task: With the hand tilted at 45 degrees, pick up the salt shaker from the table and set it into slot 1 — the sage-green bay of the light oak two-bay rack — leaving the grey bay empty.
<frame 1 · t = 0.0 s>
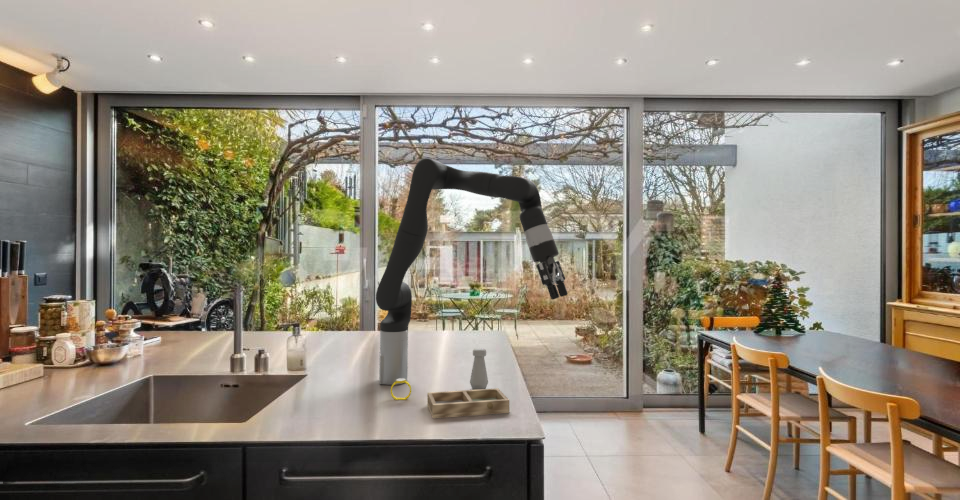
hand: (560, 297, 132), 31 cm above the counter, tool tilted 20°, fingers open, 8 cm apart
rack: (467, 408, 131), on the counter
salt shaker: (479, 389, 149), on the counter
watch: (400, 400, 139), on the counter
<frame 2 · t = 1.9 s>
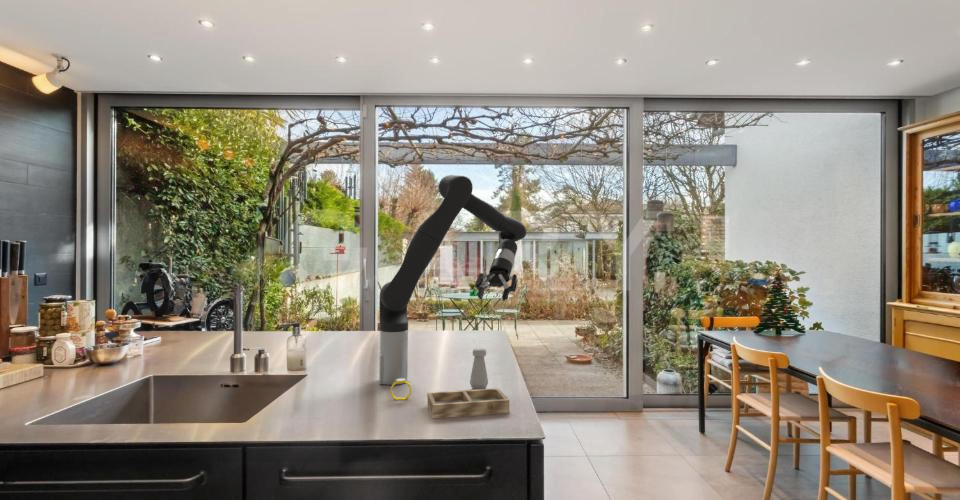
hand: (491, 298, 159), 28 cm above the counter, tool tilted 45°, fingers open, 8 cm apart
nothing on the counter moved.
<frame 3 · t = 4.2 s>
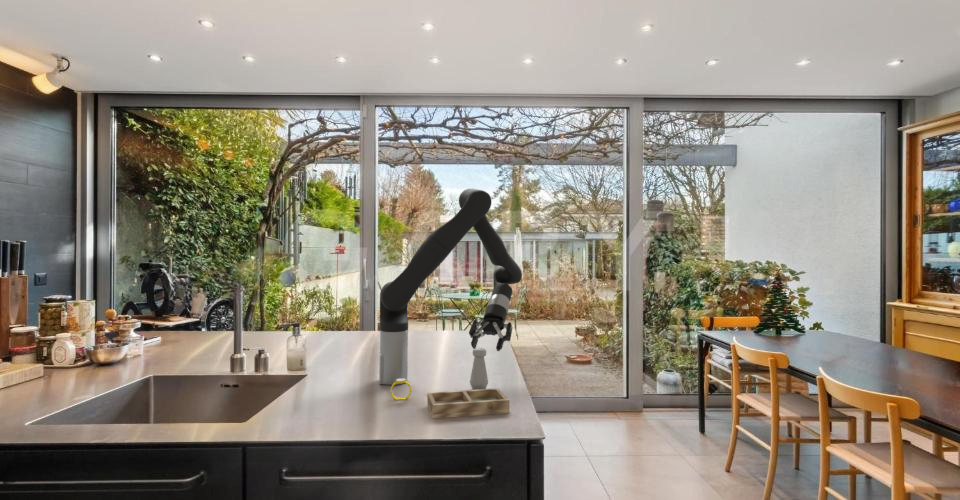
hand: (485, 348, 154), 12 cm above the counter, tool tilted 45°, fingers open, 8 cm apart
nothing on the counter moved.
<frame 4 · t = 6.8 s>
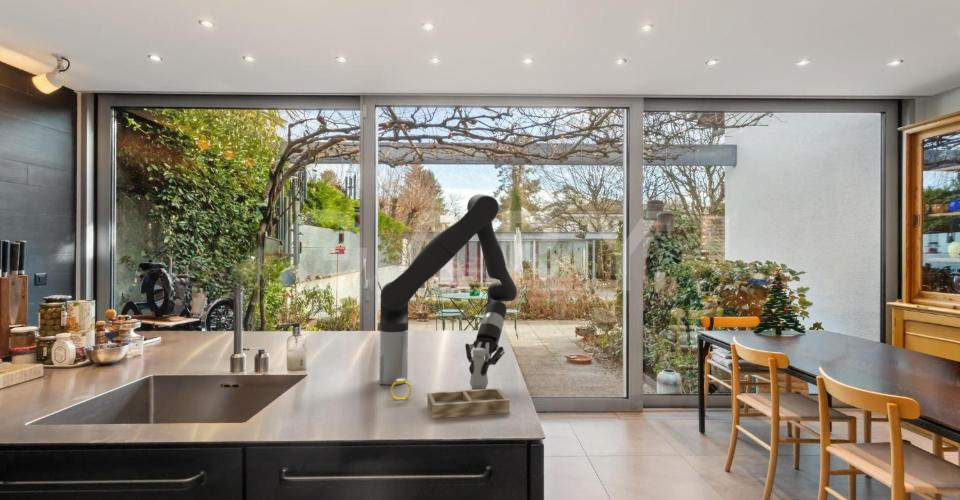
hand: (477, 373, 147), 5 cm above the counter, tool tilted 45°, fingers closed on salt shaker, 3 cm apart
salt shaker: (479, 389, 149), on the counter, touching gripper
everything else where it was.
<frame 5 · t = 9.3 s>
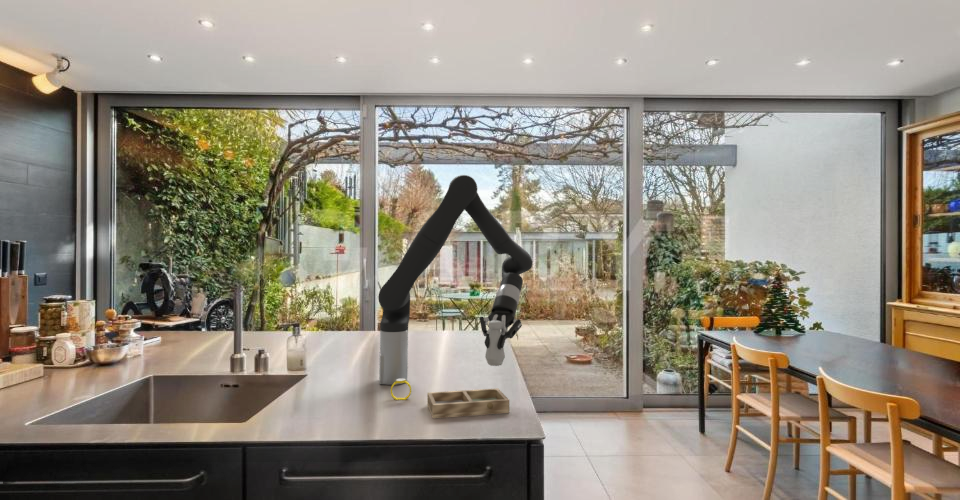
hand: (493, 347, 138), 16 cm above the counter, tool tilted 45°, fingers closed on salt shaker, 3 cm apart
salt shaker: (495, 364, 140), point 10 cm above the counter, touching gripper
everything else where it was.
when the fingers open (8 cm above the counter, at t = 12.1 s): salt shaker stays where it is, resting on rack.
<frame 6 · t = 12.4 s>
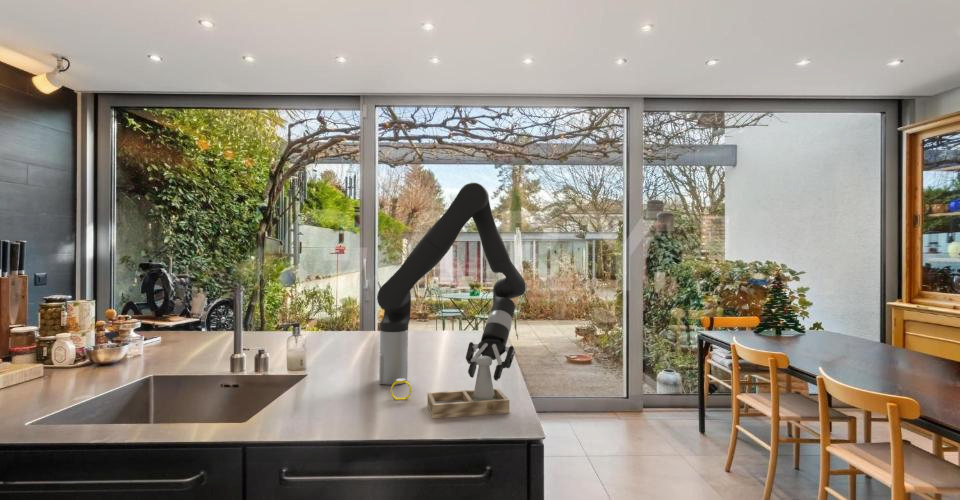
hand: (483, 377, 131), 9 cm above the counter, tool tilted 45°, fingers open, 6 cm apart
salt shaker: (483, 403, 133), point 1 cm above the counter, touching rack
everything else where it was.
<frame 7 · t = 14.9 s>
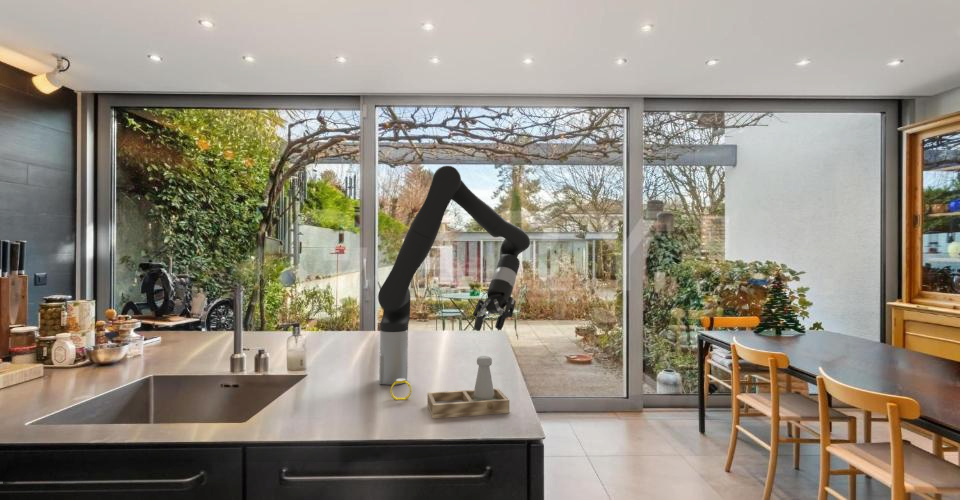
hand: (487, 329, 143), 20 cm above the counter, tool tilted 35°, fingers open, 8 cm apart
nothing on the counter moved.
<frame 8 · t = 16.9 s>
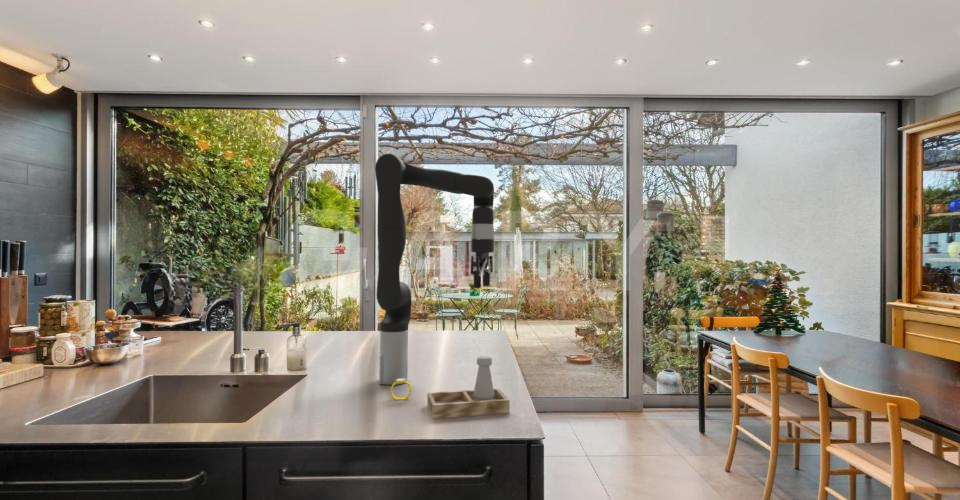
hand: (481, 286, 156), 32 cm above the counter, tool pointing down, fingers open, 8 cm apart
nothing on the counter moved.
at the end: salt shaker 0.7 cm from the target spot on the rack, point 1.0 cm above the rack's base; salt shaker tilted 0°; the gripper is holding nothing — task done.
